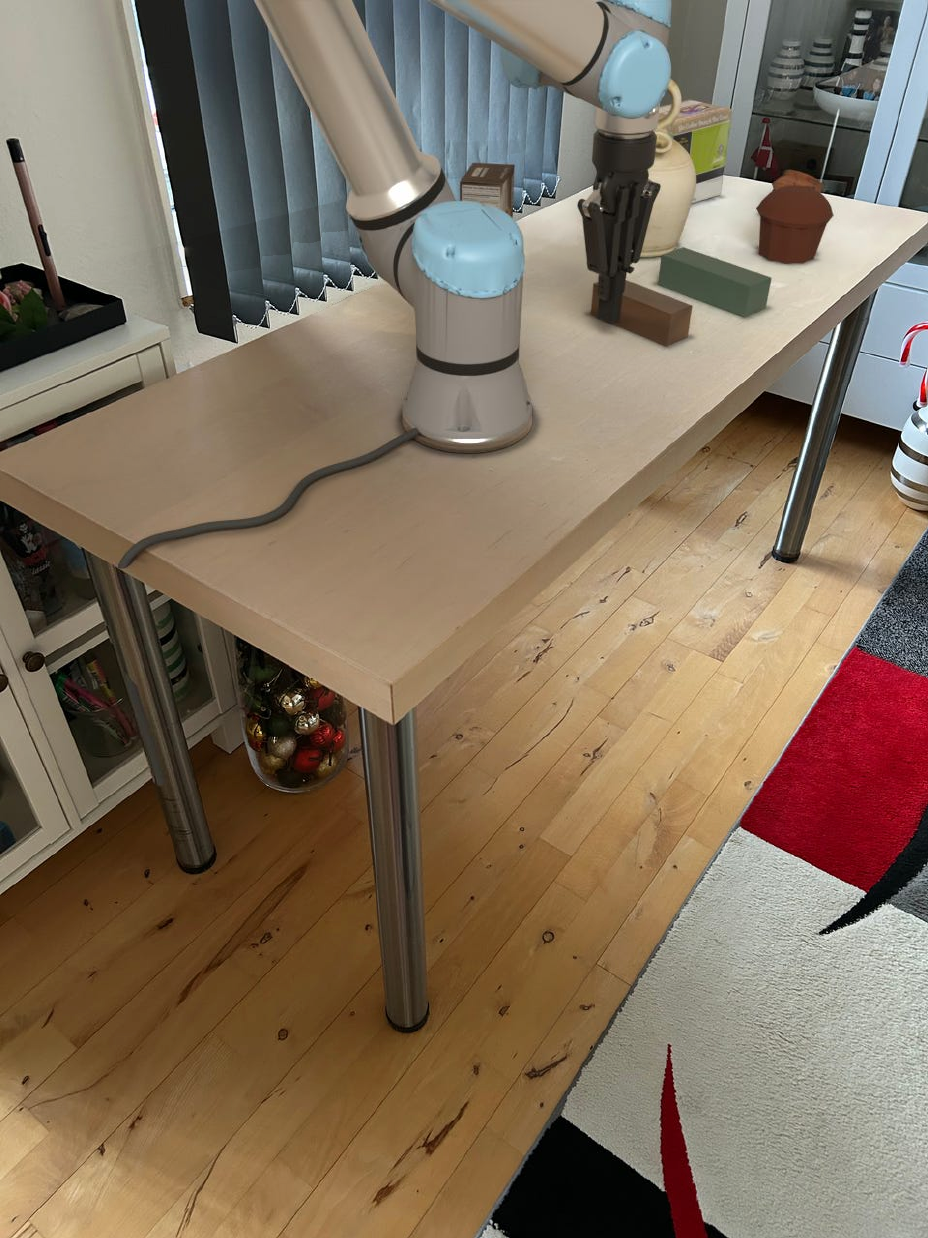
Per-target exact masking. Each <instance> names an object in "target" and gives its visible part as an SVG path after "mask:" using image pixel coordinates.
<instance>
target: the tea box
mask: <svg viewBox="0 0 928 1238" xmlns="http://www.w3.org/2000/svg"><path fill="white" fill-rule="evenodd" d="M670 108H671V103H670V104H666V105H662V106H661V105H660V109H659V119H658V120H660V119H662V118H663V117H665V116H666V115H667V113H668V112H669V110H670ZM732 114H733V109H732V108H729V107H724V106H719V105H715V104H712V103H711V104H710V103H707V102H706V103H705V102H702V101H698V100H693V99H692V98H691V99H686V100H683V101H682V100H681V109H680V112H679V115H678V116H677V118H676V120H675V121H674V122H673V123H672V124H671V125H670V126H669V127H668V129H667V132H668V134H669V135H670V137H671V138H672V139H674V140H675V141H677V142H678V143H679V144H680V145H681V146H682V147H683V148H684V149H685V150H686V151H687V152H688V153H689V155H690V156H691V158H692V161H693V164H694V168H695V173H696V189H695V194H694V198H693V201H692V204H695V203H698V202H701V201H704V200H707V199H711V198H713V197H717V196H721V195H722V189H723V183H724V173H725V166H726V160H727V154H728V153H727V152H728V146H729V145H728V144H729V138H730V130H731V122H732Z"/></svg>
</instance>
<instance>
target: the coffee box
mask: <svg viewBox="0 0 928 1238" xmlns="http://www.w3.org/2000/svg"><path fill="white" fill-rule="evenodd" d="M515 167H516V165H515V164H509V163H489V162H472V163H471V164H470V166H469V167H468V169H467V170H466V171H465V173H464V175H463V176H462V178H461V179H460V180H459V201H470V202H477V203H482V204H483V206H485V207H488V206H493V207H495V208H498V209H500V210H502V211H504V212H505V213H507V214H508V215H509V216H511V217H512V218H513V219H514V195H515V194H514V192H515V190H514V189H515Z"/></svg>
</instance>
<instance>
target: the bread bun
mask: <svg viewBox="0 0 928 1238" xmlns="http://www.w3.org/2000/svg"><path fill="white" fill-rule="evenodd" d="M793 185H798V186H805V187H810V188H813V189H815V190H817V191H818V192H820V193H821V194H822V190H823V189H824V187H825V186H824V184H823V183H822V182H821V181H820V180H819V179H817V178H815V177H814V176H812V175H810V174H807V173H804V172H801V171H799V170H793V169H784V170H783V171H782V176H779V177H778V178H776V179H775V180H774V181H773V182H772V183H771V186H772V190H771V192H772V191H774V190H776V189H779V188H781V187H785V186H793Z"/></svg>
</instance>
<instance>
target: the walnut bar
mask: <svg viewBox="0 0 928 1238" xmlns="http://www.w3.org/2000/svg"><path fill="white" fill-rule="evenodd" d="M597 292H598V281H596V282H594V283H592V294H591V306H590V315H591V316H594V317H596V318H597V317H598V305H599V298H598V295H597ZM693 307H694V306H693V305H692V304H689V303H687V302H685V301H682V300H679V299H678V298H674V297H672V296H669V295H666V294H664V293H661V292H658V291H656V290H654V289H650V288H648V287H645V286H643V285H640V284H637V283H635V282H633V281H630V280H627V279H626V281H625V290H624V293H623V294H622V304H621V314H620V322H618V323H616V324H614V325H615V326H617V327H620V328H622V329H625V330H627V331H629V332H632V333H634V334H636V335H639V336H640V337H644V338H645V339H648V340H651V341H653V342H655V343H657V344H660V345H662V346H665V347H669V346H671V345H673V344H675V343H678V342H680V341H683V340H684V339H685V340H686V339H687V338H688V337H689V332H690V331H689V330H690V325H691V321H692V313H693Z"/></svg>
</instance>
